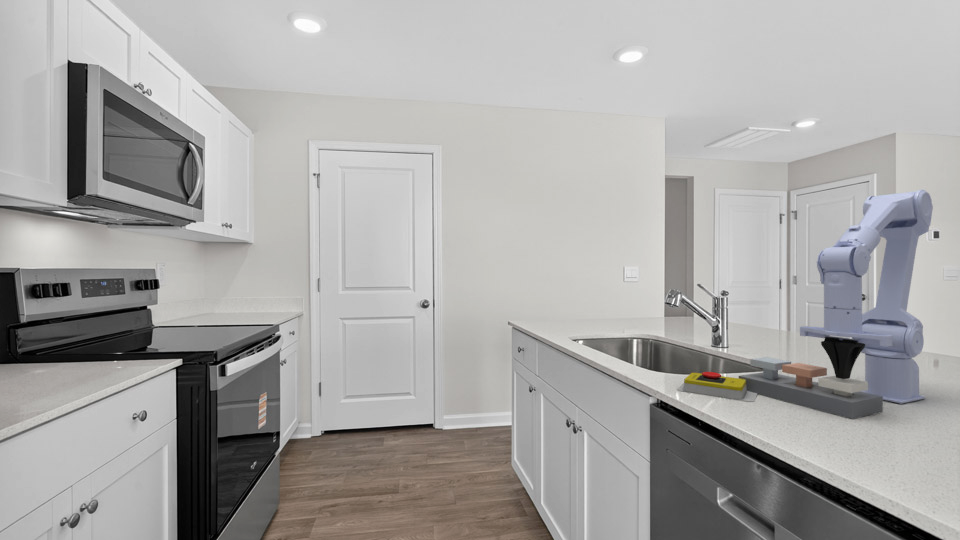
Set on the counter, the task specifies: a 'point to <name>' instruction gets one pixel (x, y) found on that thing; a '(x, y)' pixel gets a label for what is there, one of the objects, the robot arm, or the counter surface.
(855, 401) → the key console
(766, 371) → the slate key
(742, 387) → the emergency button
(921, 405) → the counter surface
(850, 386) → the ivory key
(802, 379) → the terracotta key
